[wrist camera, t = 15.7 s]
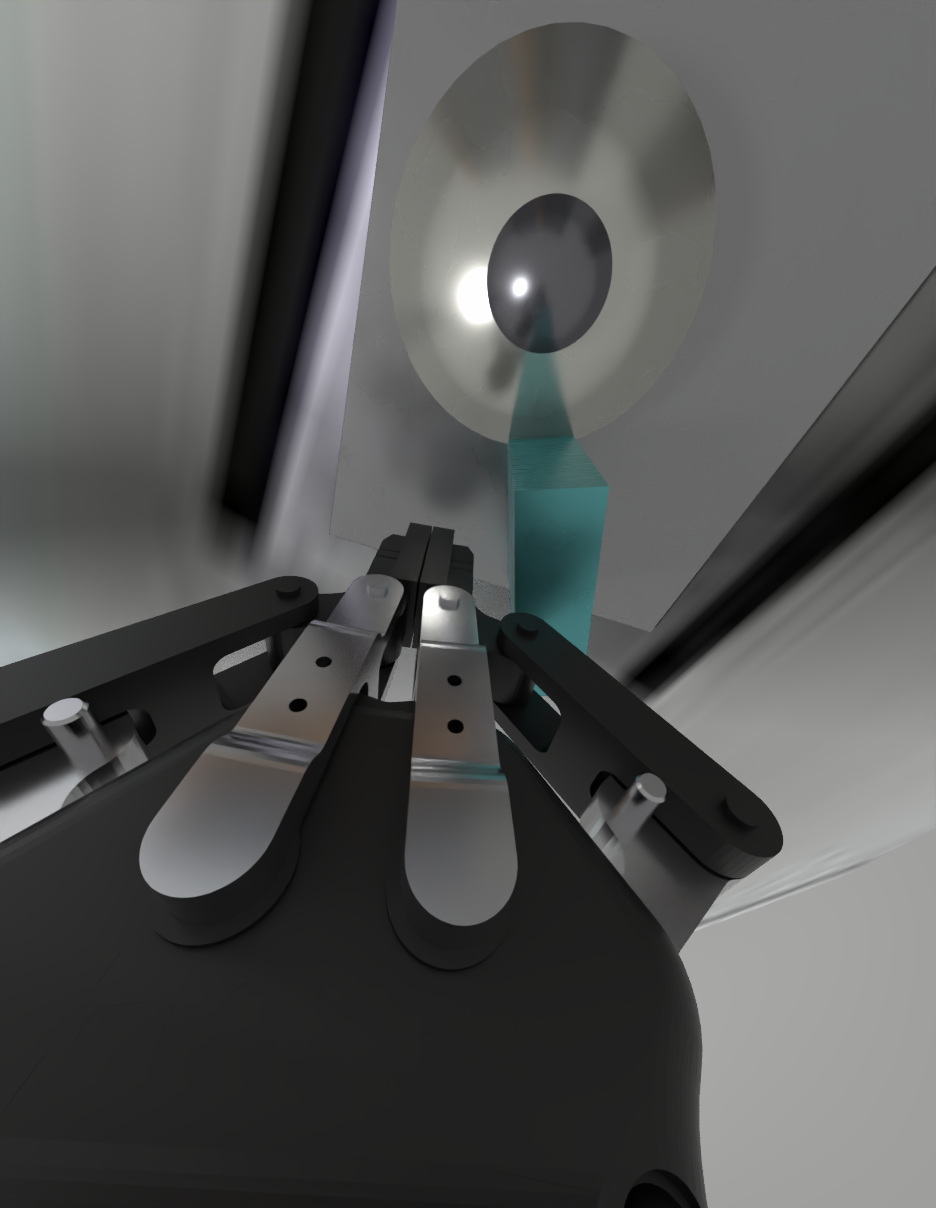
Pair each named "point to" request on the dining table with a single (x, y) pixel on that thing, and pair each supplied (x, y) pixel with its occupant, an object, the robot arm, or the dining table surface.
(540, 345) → the teal handled round piece
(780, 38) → the gray base plate
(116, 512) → the dining table surface
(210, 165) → the dining table surface
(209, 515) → the dining table surface
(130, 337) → the dining table surface
